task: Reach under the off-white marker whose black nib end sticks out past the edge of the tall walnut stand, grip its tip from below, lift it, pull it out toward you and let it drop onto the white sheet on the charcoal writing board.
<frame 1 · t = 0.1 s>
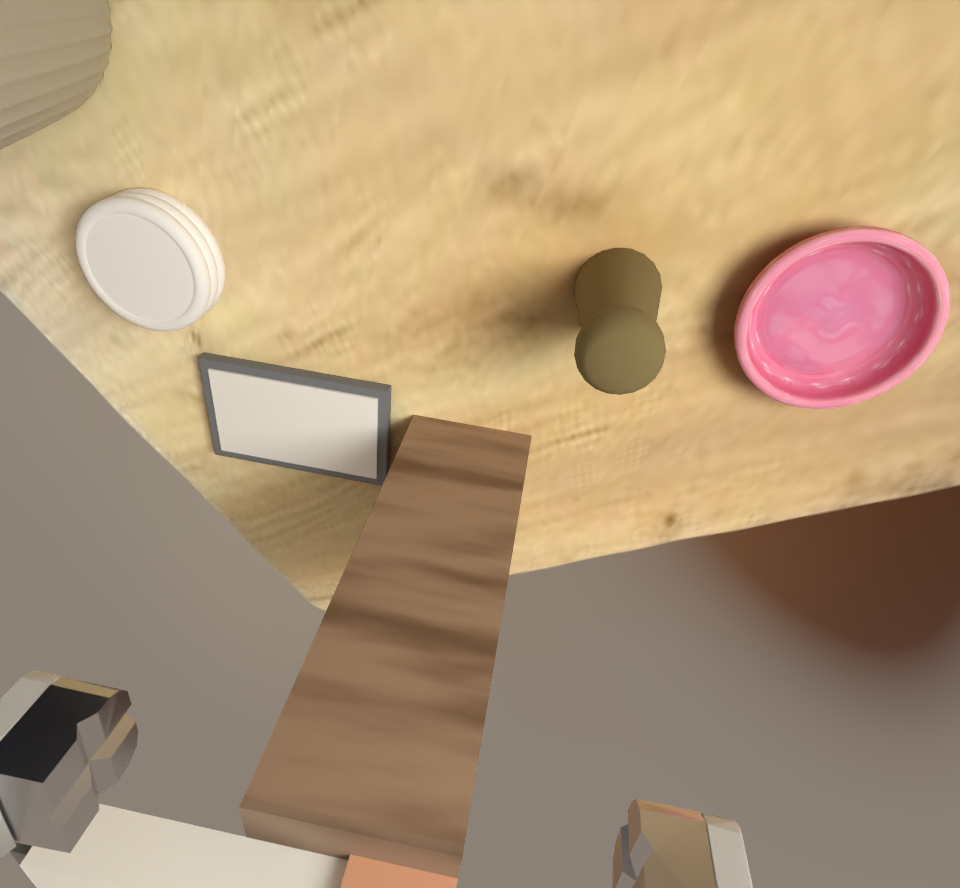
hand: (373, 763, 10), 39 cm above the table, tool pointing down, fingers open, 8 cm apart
coaster: (166, 253, 49), on the table
marker: (350, 873, 31), point 32 cm above the table, touching walnut stand
writing board: (300, 418, 56), on the table
olive game pawn: (617, 289, 45), on the table
walnut stand: (467, 467, 56), on the table
saucer: (825, 307, 44), on the table
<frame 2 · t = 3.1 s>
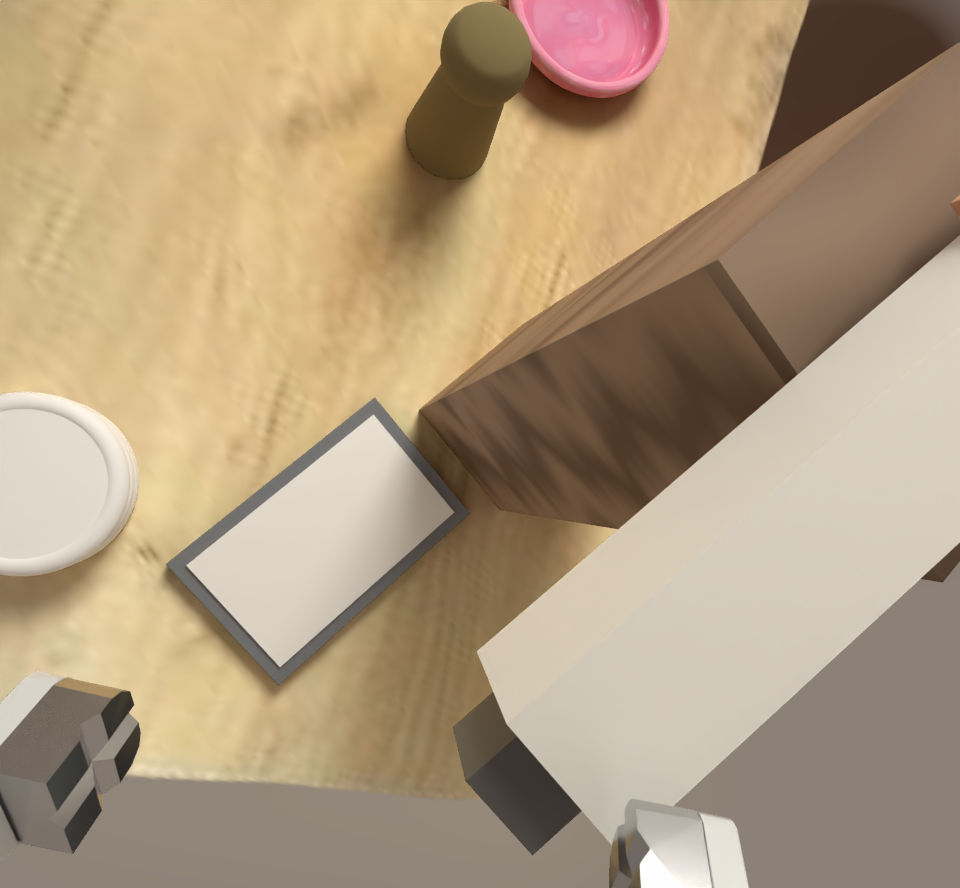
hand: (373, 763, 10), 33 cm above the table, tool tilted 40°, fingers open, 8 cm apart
coaster: (47, 482, 38), on the table
writing board: (327, 535, 42), on the table
olive game pawn: (447, 138, 46), on the table
walnut stand: (512, 415, 46), on the table
saucer: (575, 34, 49), on the table
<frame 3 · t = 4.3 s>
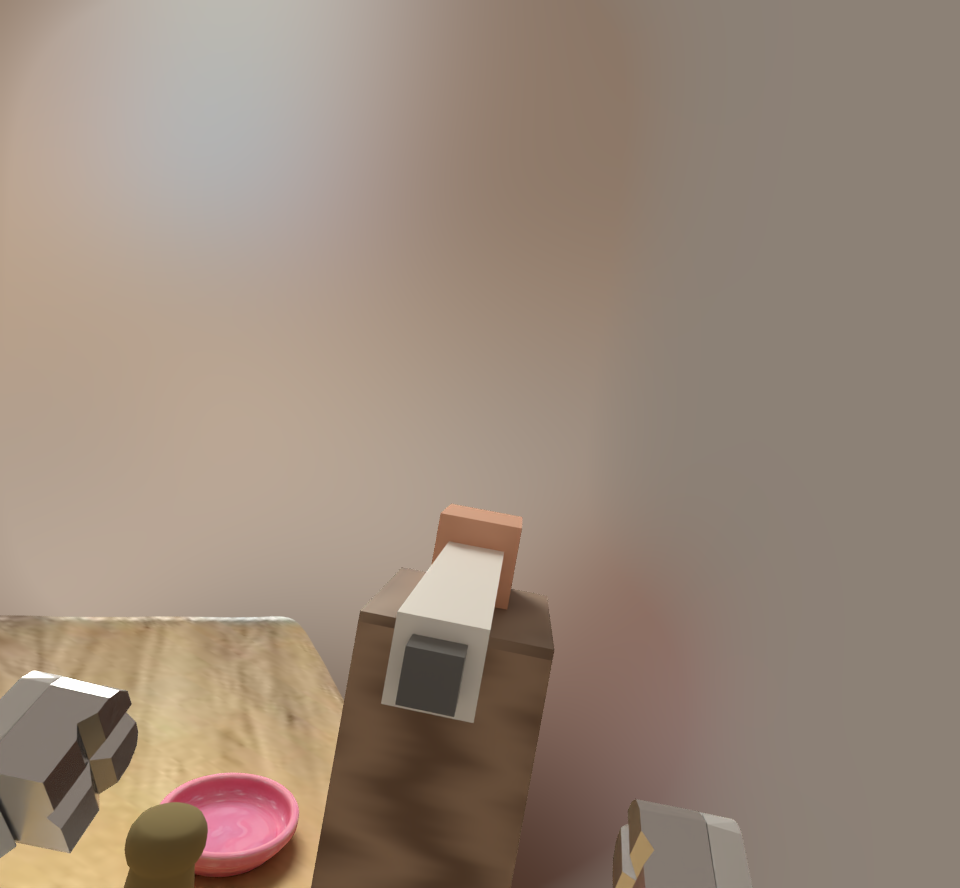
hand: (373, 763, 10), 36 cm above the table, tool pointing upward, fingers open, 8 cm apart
marker: (466, 601, 34), point 32 cm above the table, touching walnut stand
saucer: (224, 844, 59), on the table
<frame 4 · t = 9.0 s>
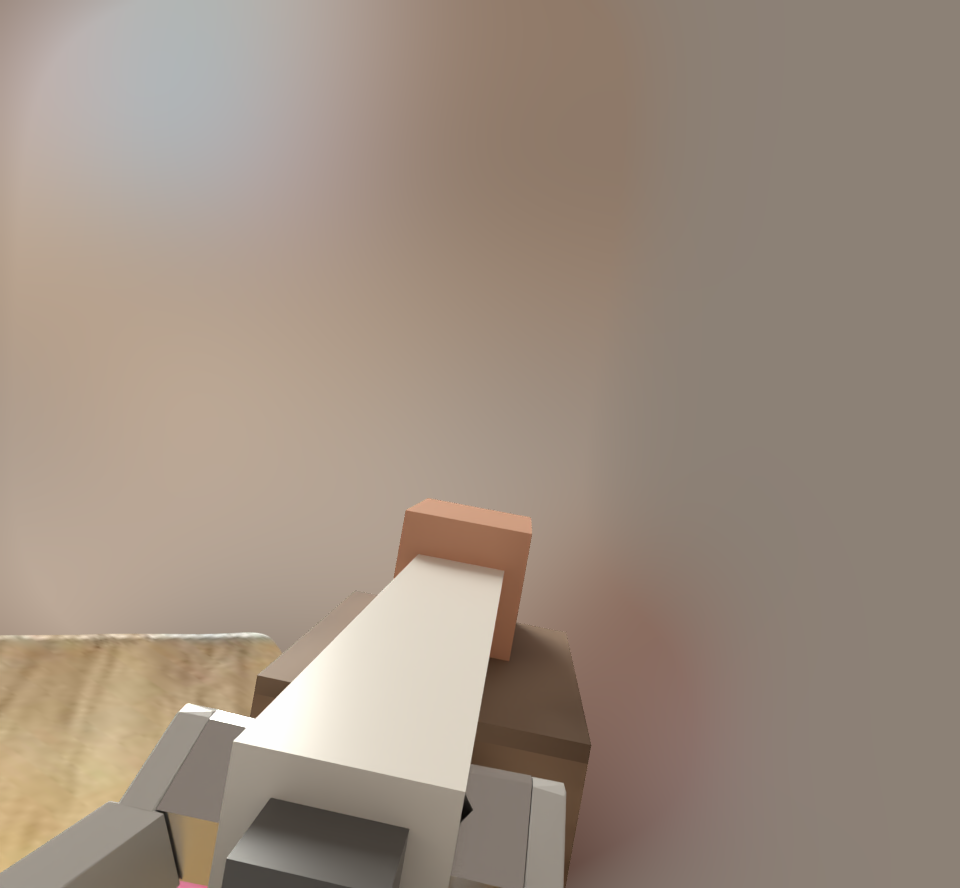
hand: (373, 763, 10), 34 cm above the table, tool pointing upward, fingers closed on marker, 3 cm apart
marker: (445, 648, 22), point 32 cm above the table, touching gripper, walnut stand
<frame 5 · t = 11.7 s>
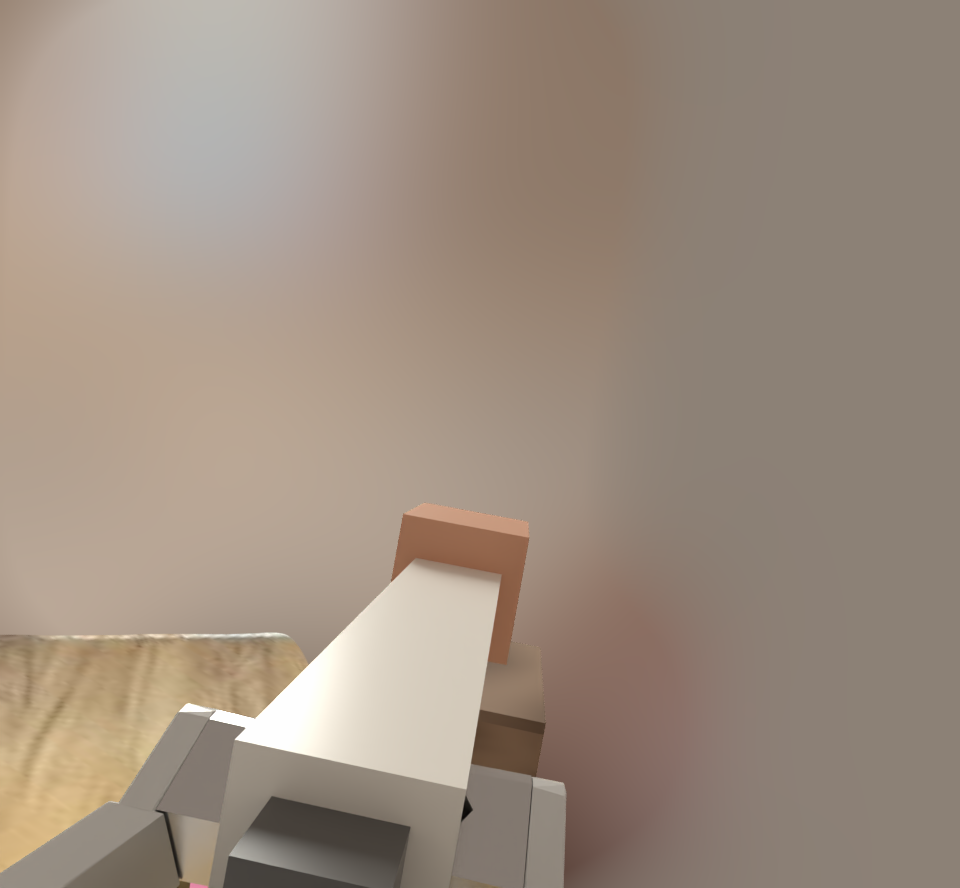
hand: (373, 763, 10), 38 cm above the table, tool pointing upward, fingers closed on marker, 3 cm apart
marker: (443, 652, 22), point 36 cm above the table, touching gripper
when the fingers open (29 cm above the table, at t = 14.5 s): marker drops 26 cm, resting on writing board.
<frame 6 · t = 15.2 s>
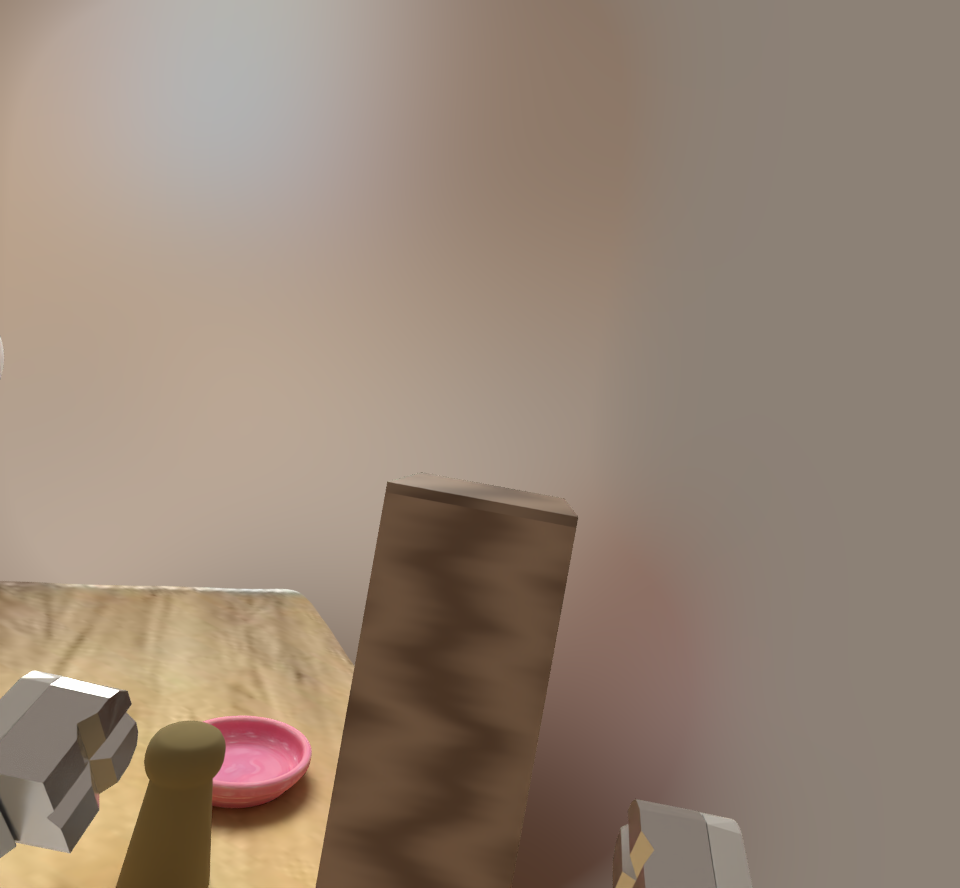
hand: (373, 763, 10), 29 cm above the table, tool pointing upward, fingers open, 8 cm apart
olive game pawn: (163, 885, 45), on the table
saucer: (237, 781, 59), on the table
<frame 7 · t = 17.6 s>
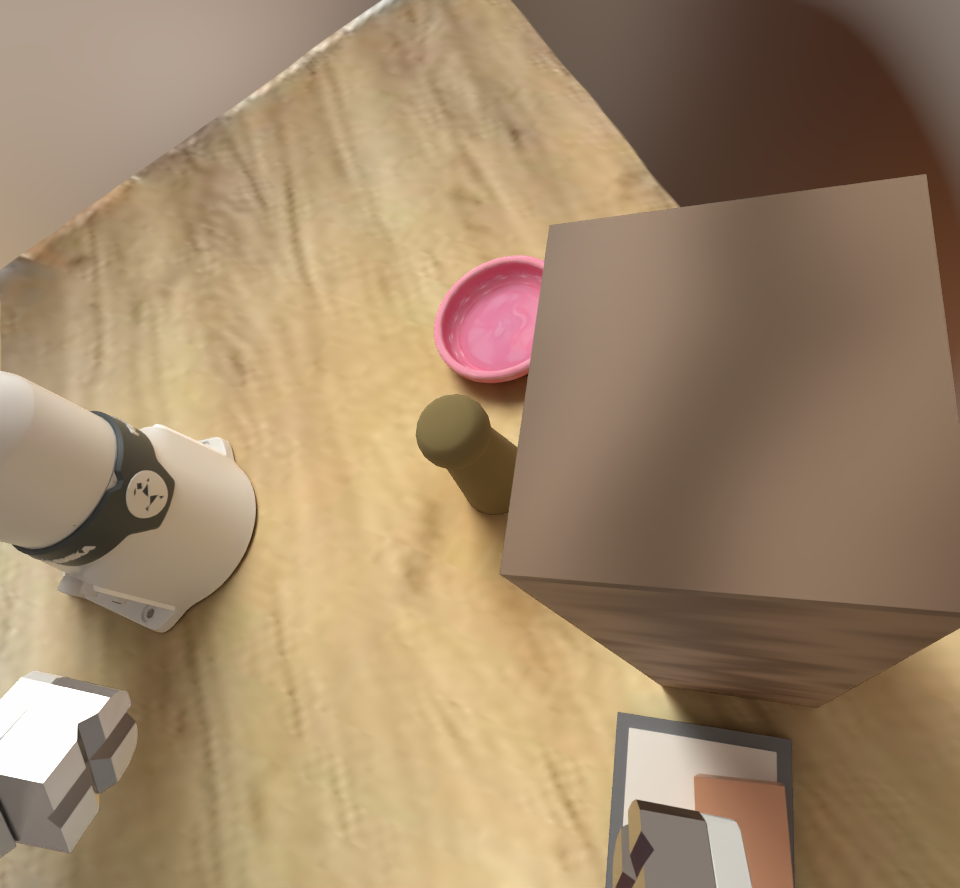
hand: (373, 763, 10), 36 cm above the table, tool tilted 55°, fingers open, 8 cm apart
marker: (745, 879, 35), point 1 cm above the table, touching writing board
writing board: (697, 875, 37), on the table
olive game pawn: (498, 479, 52), on the table
walnut stand: (736, 614, 42), on the table
saucer: (511, 334, 58), on the table
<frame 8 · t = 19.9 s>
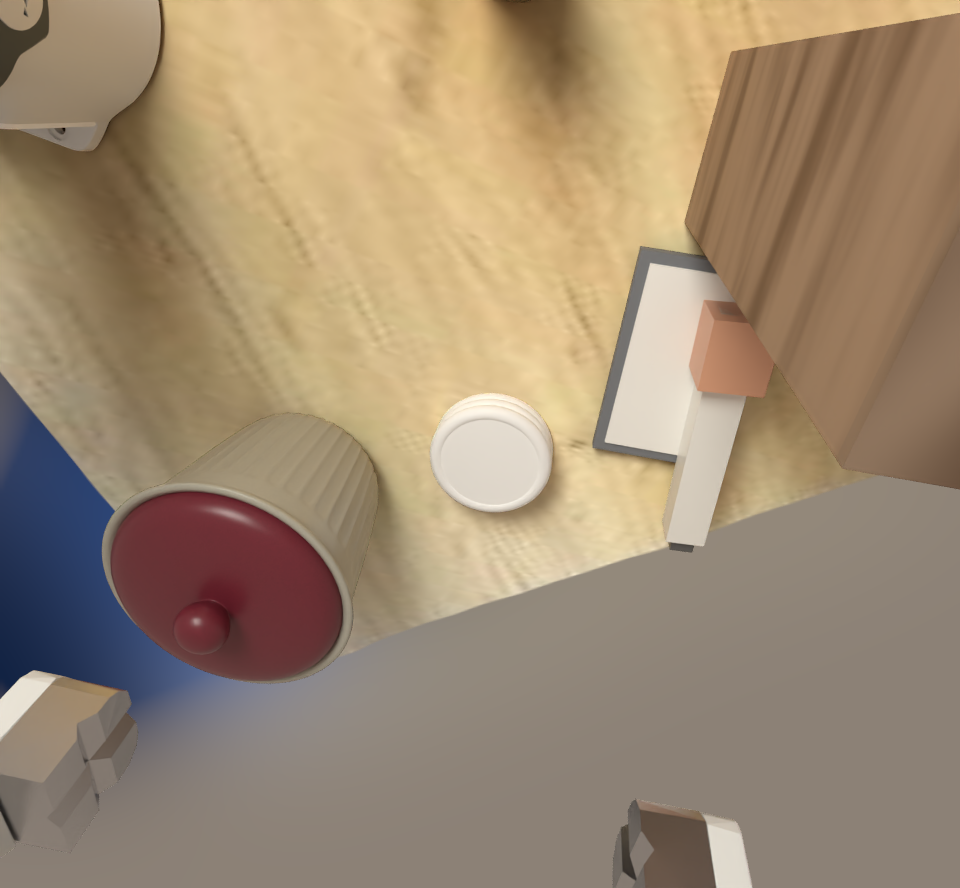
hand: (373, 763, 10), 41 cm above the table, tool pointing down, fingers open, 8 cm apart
coaster: (494, 442, 55), on the table
marker: (719, 368, 47), point 1 cm above the table, touching writing board
writing board: (680, 363, 49), on the table
canister: (314, 468, 59), on the table
walnut stand: (777, 152, 41), on the table
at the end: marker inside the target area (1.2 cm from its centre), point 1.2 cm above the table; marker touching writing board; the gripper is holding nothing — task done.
